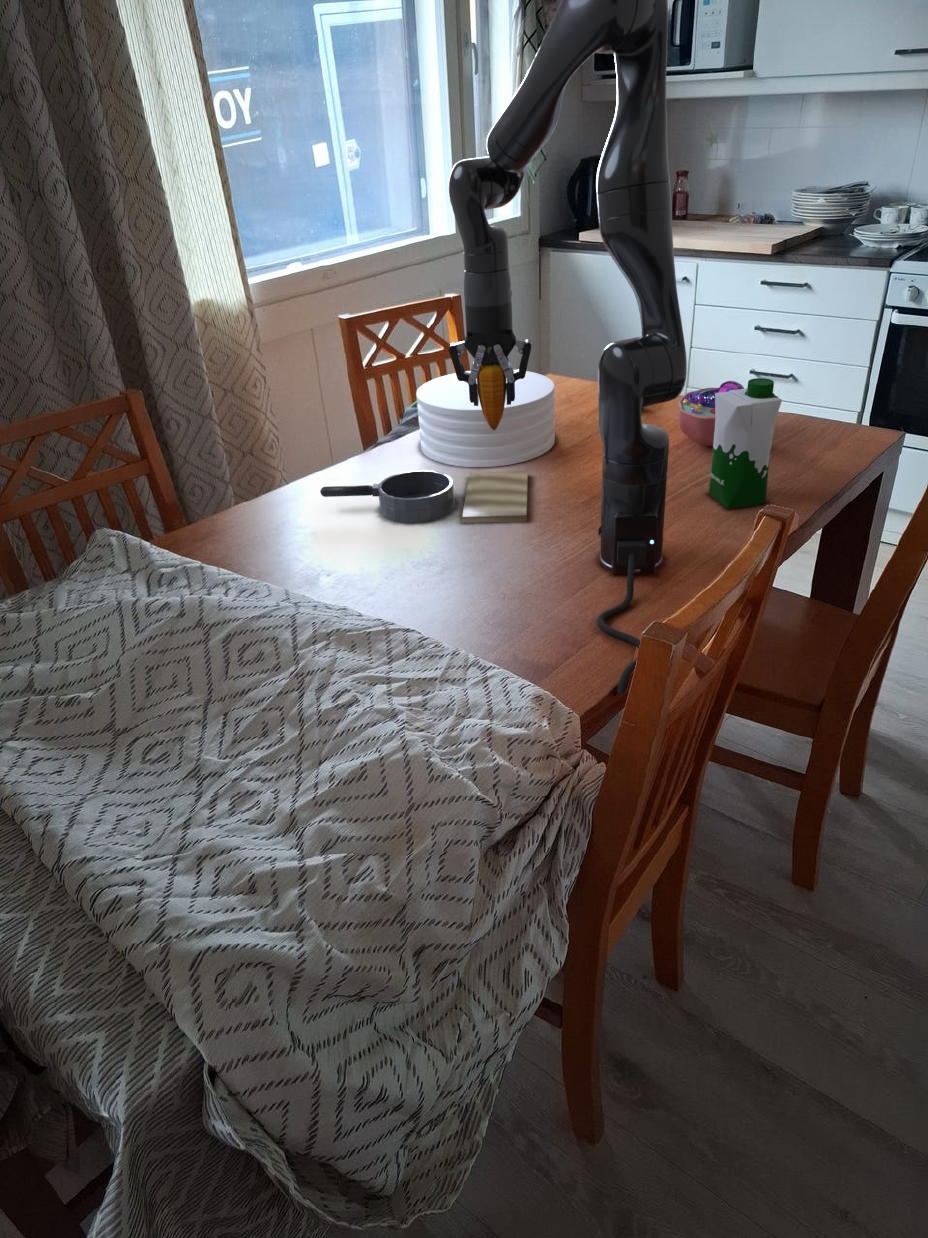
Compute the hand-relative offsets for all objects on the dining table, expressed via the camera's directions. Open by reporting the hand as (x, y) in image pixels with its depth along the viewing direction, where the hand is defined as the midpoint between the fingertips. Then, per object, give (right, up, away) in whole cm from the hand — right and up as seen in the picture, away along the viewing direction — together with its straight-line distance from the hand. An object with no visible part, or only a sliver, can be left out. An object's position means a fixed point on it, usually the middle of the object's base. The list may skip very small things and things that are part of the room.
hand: (492, 403), depth 145 cm
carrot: (0, -4, +3) cm, 5 cm away
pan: (-13, -17, +8) cm, 23 cm away
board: (+1, -15, +9) cm, 17 cm away
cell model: (+46, -1, +26) cm, 53 cm away
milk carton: (+42, -16, +3) cm, 45 cm away
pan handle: (-25, -15, +8) cm, 30 cm away
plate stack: (0, 0, +34) cm, 34 cm away
